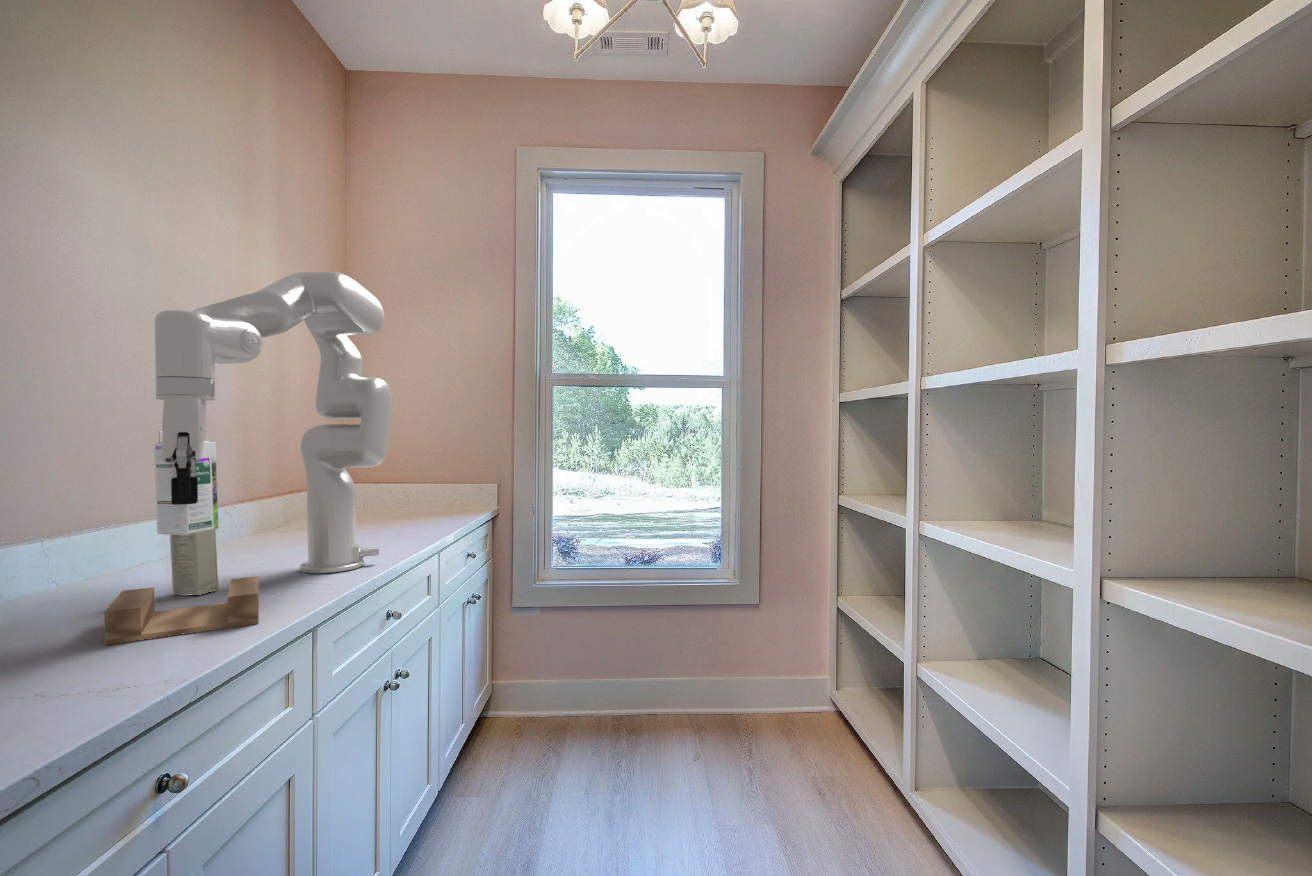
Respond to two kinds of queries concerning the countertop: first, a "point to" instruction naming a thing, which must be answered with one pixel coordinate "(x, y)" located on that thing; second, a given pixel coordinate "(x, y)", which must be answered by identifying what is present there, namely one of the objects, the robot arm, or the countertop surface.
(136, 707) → the countertop surface
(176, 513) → the syrup box
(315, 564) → the robot arm
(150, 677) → the countertop surface
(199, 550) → the skincare box
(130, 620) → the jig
